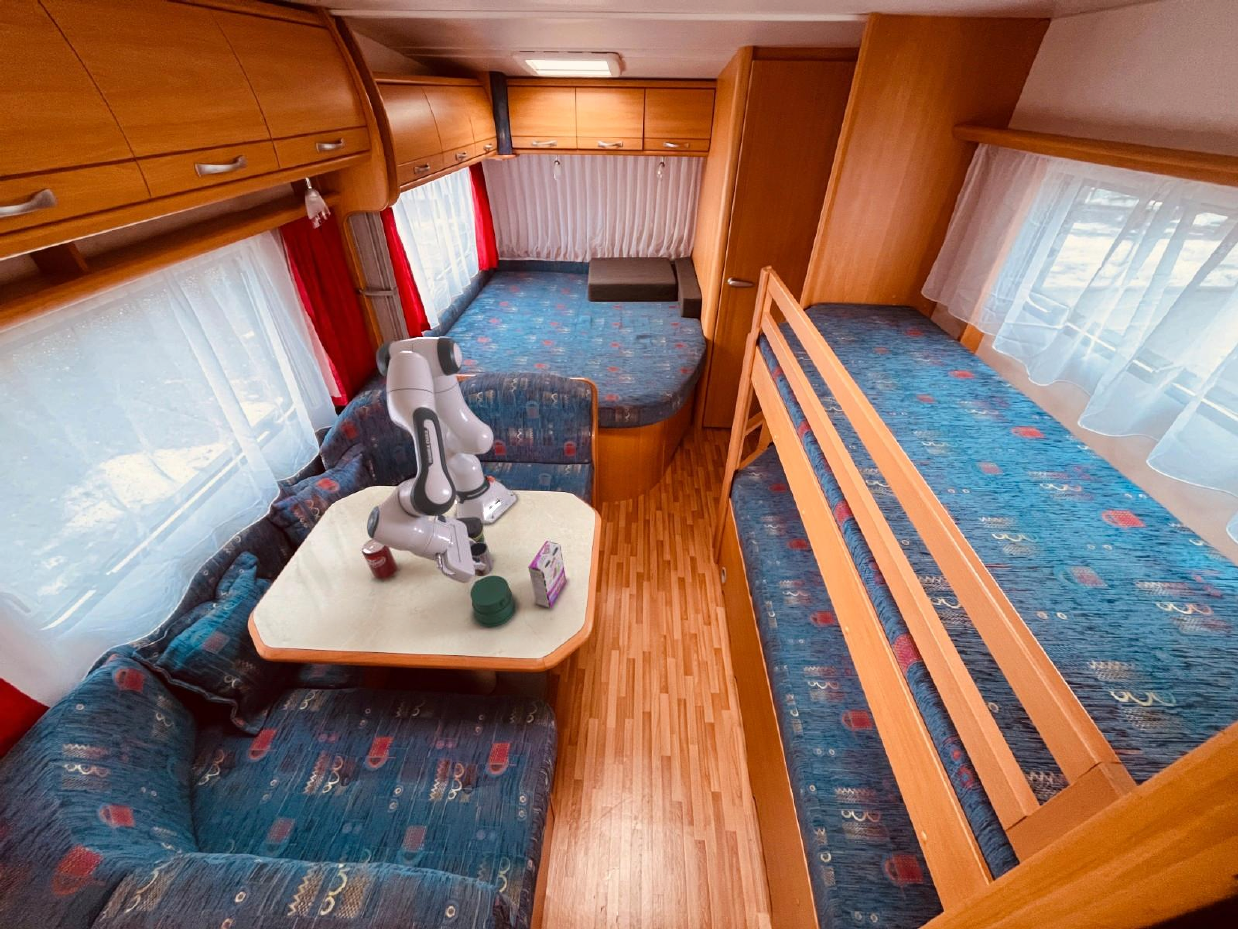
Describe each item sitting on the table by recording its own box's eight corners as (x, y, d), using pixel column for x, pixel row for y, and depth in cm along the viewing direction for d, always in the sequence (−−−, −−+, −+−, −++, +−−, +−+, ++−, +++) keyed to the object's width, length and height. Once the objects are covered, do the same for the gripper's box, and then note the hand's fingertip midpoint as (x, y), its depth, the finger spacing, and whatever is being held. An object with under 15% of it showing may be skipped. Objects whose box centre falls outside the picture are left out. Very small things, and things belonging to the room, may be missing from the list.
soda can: (389, 582, 148) (376, 555, 141) (369, 579, 149) (355, 552, 142) (402, 565, 154) (391, 538, 147) (382, 562, 155) (370, 535, 148)
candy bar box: (552, 576, 148) (546, 539, 138) (566, 581, 147) (561, 543, 137) (535, 604, 140) (527, 566, 130) (550, 609, 138) (543, 571, 128)
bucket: (497, 587, 145) (492, 567, 140) (524, 606, 139) (519, 586, 134) (465, 613, 138) (458, 593, 133) (492, 635, 132) (486, 615, 126)
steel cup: (484, 558, 131) (479, 538, 127) (497, 567, 128) (492, 547, 124) (468, 570, 128) (462, 550, 123) (481, 579, 125) (475, 560, 121)
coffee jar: (459, 574, 150) (445, 532, 139) (464, 556, 156) (451, 514, 145) (490, 572, 150) (478, 530, 139) (493, 554, 157) (482, 512, 146)
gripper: (445, 562, 109) (495, 577, 117) (438, 508, 124) (483, 525, 133) (430, 580, 110) (481, 594, 119) (425, 525, 126) (470, 540, 134)
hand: (482, 557), depth 126 cm, fingers closed on steel cup, 5 cm apart
